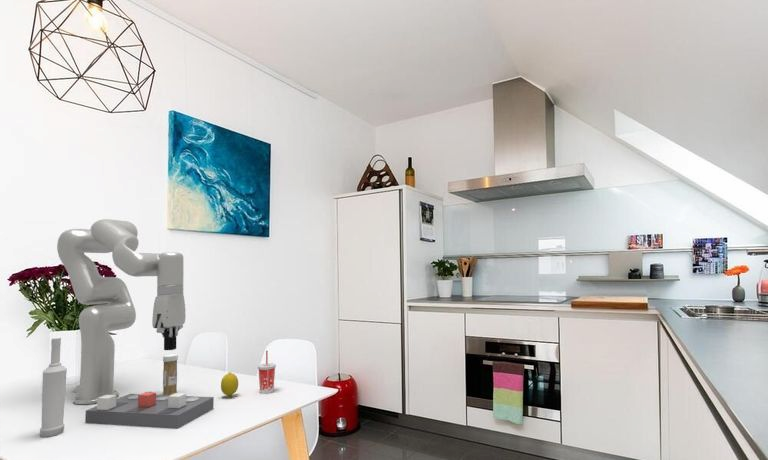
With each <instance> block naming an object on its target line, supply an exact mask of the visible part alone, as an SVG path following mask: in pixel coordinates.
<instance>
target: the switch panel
mask: <svg viewBox="0 0 768 460" xmlns="http://www.w3.org/2000/svg"><path fill="white" fill-rule="evenodd" d="M140 394H141V393H128V394H125V395H123V396H121V397H118V398H116V407H114V408H111V409H109V410H97V405H96V406H94V407H91V408H89V409H86V410H85V421H84V423H85V424H92V425H93V424H96V425H113V426H130V427H144V428H145V427H147V428H160V429H161V428H162V429H180V428H182V427H183V426H185V425H187V424H189V423H191V422H192V421H194V420H196V419H198V418H200V417H201V416H203V415H205V414H207V413H208V412H210V411H212V410H214V406H215V405H214V402H215V401H214V396H194V395H186V405H185V406H183V407H181V408H168V396H170V395H163V394H156V404H154V405H152V406H149V407H140V406H138V395H140Z"/></svg>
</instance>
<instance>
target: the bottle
mask: <svg viewBox="0 0 768 460" xmlns="http://www.w3.org/2000/svg"><path fill="white" fill-rule="evenodd" d="M61 344H62V337H54V338H51V344H50V345H51V348H50V349H51V350H50V351H51V352H50V363H49V364H48V367H46V369H44V370H43V371H42V387H41V388H42V391H41V392H42V393H41V398H42V399H41V427H40V429H39V435H40V437H41V438H50V437H55V436H58V435H60V434H62V433H64V430H65V423H64V415H65V400H66V397H65V396H66V388H67V387H66V384H67V373H68V372H67V368H66V367H65V366H63V365H62V362H61Z"/></svg>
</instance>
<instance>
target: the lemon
mask: <svg viewBox="0 0 768 460" xmlns="http://www.w3.org/2000/svg"><path fill="white" fill-rule="evenodd" d="M238 388H239V379H238V377H237V375H236V374H235V373H232V372H228V373H227V374H224V376H223V377H222V379H221V382H220V389H221V392H222V394H224V395H225V396H227V397H228V398H231V396H232V395H234V394H236V392H237V390H238Z"/></svg>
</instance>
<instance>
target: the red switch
mask: <svg viewBox="0 0 768 460" xmlns="http://www.w3.org/2000/svg"><path fill="white" fill-rule="evenodd" d="M139 394H140V395H138V406H140V407H149V406H152V405H154V404H156V395H157V391H153V392H151V391H145V392H143V393H139Z"/></svg>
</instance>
